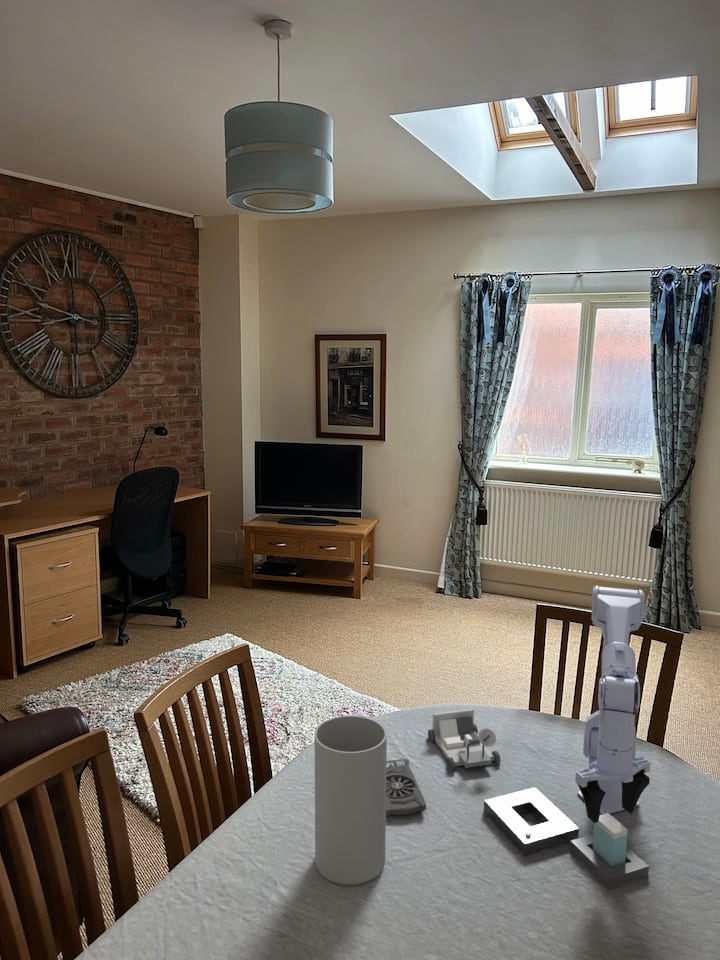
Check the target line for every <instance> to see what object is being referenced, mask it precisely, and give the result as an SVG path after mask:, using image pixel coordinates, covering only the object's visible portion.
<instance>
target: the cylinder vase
mask: <svg viewBox="0 0 720 960" xmlns="http://www.w3.org/2000/svg"><path fill="white" fill-rule="evenodd" d="M387 735H388V734H387V729H386V728H385V727H384V725H383V724H381V723H380V722H379V721H377V720H375V719H373V718H370V717H366V716H361V715H340V716H335V717H332V718H328V719H327V720H324V721H323V722H321V723H320V724H319V725H318V726H317V727H316V729H315V730H314V848H315V849H314V854H315V855H314V859H315V860H314V861H315V867H316V868H317V870H318V872H319V873H320V874H321V875H322V876H323V877H324V878H325V879H327V880H329V881H330V882H333V883H335V884H338V885H344V886H357V885H361V884H366V883H368V882H370V881H372V880H374V879H375V878H377V876H378V875H380V873H381V872H382V871H383V869H384V866H385V863H386V838H387V836H386V833H387V832H386V827H387V825H386V823H387V822H386V821H387V817H386V784H387V783H386V767H387V765H386V764H387V763H386V761H387V749H388V748H387V746H388V744H387V743H388V740H387V739H388V736H387Z"/></svg>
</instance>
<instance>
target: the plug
mask: <svg viewBox="0 0 720 960" xmlns="http://www.w3.org/2000/svg"><path fill="white" fill-rule="evenodd" d="M593 824H594V825H593V834H594V836H593V851H594V852H595V853H596V854H597V855H598V856H599V857H600V858H601V859H602V860H603V861H604V862H605V863H606V864H607V865H608V866H609V867H611V868H613V867H617V866H620V865H623V864H625V858H626V846H627V844H628V842H627V841H628V830H629V829H628V828H627V827H626V826H625V825H623V824H622V823H621V822H620V821H618V820H617V819H616V818H615V817H614V816H613V815H611V814H609V813H606V814H603V815H601V814H600V816H599V820H598V822H597V823H594V822H593ZM627 847H628V846H627Z"/></svg>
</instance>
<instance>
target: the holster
mask: <svg viewBox="0 0 720 960" xmlns="http://www.w3.org/2000/svg"><path fill="white" fill-rule="evenodd" d="M593 836H594V833H593V834H589V835H584V836H581V837H579V838H578V839H575V840H571V842H570V843H569V851H570V852H571V853H572V854H573V855H574V856H575V857H576V858H577V859H578V860H579V861H580V862H581V863H582V864H583V865H584V866H585V867H586V868H587V869H588V870H589V871H590V872H591V873H592V874H593V875H594V876H595V877H596V878H597V879H598V880H599V881H600V882H601V883H602V884H603V885H604V886H605V887H606V888H607V889H608V890H611V889H614V888H616V887H620V886H623V885H626V884H629V883H632V882H636V881H638V880H641V879H645V878H647V877H649V872H650V866H649V865H648V864H647V863H646V862H645V861H644V860H643V859H641V858H640V857H639V856H638V855H637V854H636V853H635V852H634V851H632V849H630V848H629V846H626V858H625V864H623V865H620V866H617V867H613V868H611V867H609V866H608V865H607V864H606V863H605V862H604V861H603V860H602V859H601V858H600V857H599V856H598V855H597V854H596V853H595V852H594V851H593Z"/></svg>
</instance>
